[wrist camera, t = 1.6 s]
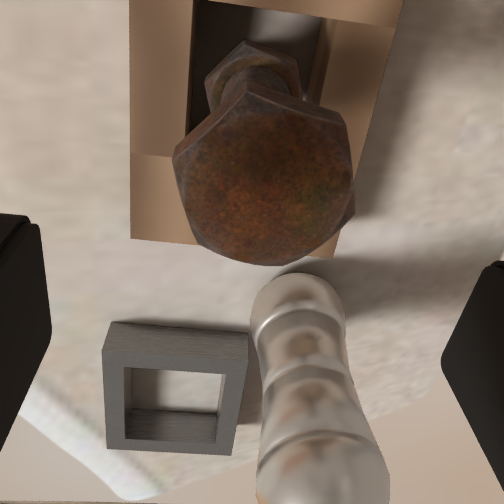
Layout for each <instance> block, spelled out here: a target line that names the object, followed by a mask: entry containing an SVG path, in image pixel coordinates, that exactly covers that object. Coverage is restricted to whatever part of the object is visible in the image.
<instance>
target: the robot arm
mask: <svg viewBox="0 0 504 504" xmlns="http://www.w3.org/2000/svg"><path fill="white" fill-rule="evenodd" d="M51 334H52V325H51V316H50V308H49V300H48V292H47V284H46V275H45V267H44V259H43V251H42V243H41V234H40V228H39V226H38V225H37V224H31V223H30V220H29V218H28V217H27V216H24V215H13V214H3V213H0V451H1V449H2V447H3V445H4V443H5V440H6V438H7V436H8V434H9V431H10V429H11V427H12V425H13V423H14V421H15V418H16V416H17V414H18V412H19V410H20V407H21V405H22V403H23V401H24V399H25V396H26V394H27V392H28V390H29V388H30V385H31V383H32V381H33V379H34V377H35V374H36V372H37V370H38V368H39V366H40V363H41V361H42V359H43V357H44V355H45V352H46V350H47V348H48V346H49V343H50V340H51ZM441 368H442V371H443V373H444V375H445V377H446V379H447V381H448V383H449V385H450V387H451V389H452V391H453V393H454V394H455V397H456V398H457V401H458V402H459V404H460V406H461V408H462V410H463V412H464V414H465V416H466V418H467V420H468V422H469V424H470V426H471V428H472V430H473V432H474V434H475V436H476V438H477V440H478V442H479V444H480V446H481V448H482V450H483V452H484V454H485V455H486V457H487V459H488V461H489V463H490V465H491V467H492V469H493V471H494V473H495V475H496V477H497V479H498V481H499V483H500V485H501V487H502V489H503V491H504V261H499V260H498V261H495V262H494V263H492V264H491V266H488V267H486V268H485V269H484V270H483V271H482V273H481V275H480V277H479V279H478V281H477V283H476V285H475V287H474V289H473V291H472V294H471V296H470V298H469V300H468V302H467V304H466V306H465V308H464V310H463V312H462V314H461V316H460V318H459V320H458V323H457V325H456V327H455V329H454V331H453V333H452V335H451V337H450V339H449V341H448V343H447V345H446V347H445V349H444V351H443V354H442V356H441ZM0 504H155V503H118V502H117V503H116V502H115V503H114V502H73V501H71V502H70V501H0Z"/></svg>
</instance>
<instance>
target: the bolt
mask: <svg viewBox="0 0 504 504" xmlns="http://www.w3.org/2000/svg"><path fill="white" fill-rule="evenodd" d="M204 84H205V89H206V94H207V99H208V103H209V107H210V112H211V114H210V115H209V116H208V117H207V118H205V119H204V120H203V121H202V122H201V123H200V124H199V125H198V126H197V127H196V128H195V129H194V130H192V131H191V132H190V133H189V134H188V135H187V136H186V137H185V138H184V139H183V140H182V141H181V142H179V143H178V144H177V145H176V146H175V150H174V153H173V157H172V164H173V169H174V174H175V178H176V183H177V187H178V191H179V195H180V198H181V202H182V205H183V207H184V210H185V213H186V216H187V219H188V222H189V225H190V228H191V231H192V233H193V235H194V237H195V239H196V241H197V243H198V244H199V245H201V246H203V247H205V248H207V249H209V250H211V251H213V252H215V253H217V254H220V255H222V256H225V257H227V258H230V259H233V260H237V261H240V262H245V263H249V264H254V265H262V266H284V265H286V264H289V263H291V262H294V261H297V260H299V259H301V258H303V257H304V256H306V255H308V254H310V253H311V252H313V251H314V250H316V249H317V248H319V247H320V246H322V245H323V244H324V243H326V242H327V241H328V240H330V239H331V238H332V237H333V236H334V235H335V234H336V233H337V232H338V231H339V230H340V229H341V228H342V227H343V226H344V225H345V224H346V223H347V222H348V221H349V220H350V219H351V217H352V216H353V215H354V212H355V195H354V181H353V167H352V158H351V150H350V144H349V138H348V132H347V126H346V123H345V121H344V120H343V118H342V116H341V115H340V113H339V112H336V111H333V110H330V109H327V108H324V107H322V106H319V105H316V104H313V103H310V102H307V101H304V100H303V98H302V91H301V84H300V77H299V71H298V66H297V62H296V60H295V58H293V57H291V56H289V55H286V54H284V53H282V52H279V51H276V50H274V49H271V48H268V47H265V46H262V45H259V44H256V43H253V42H249V41H246V40H244V41H243V42H241V43H240V44H239V45H238V46H237V47H236V48H234V49H233V50H232V51H231V52H230V53H229V54H228V55H227V56H226V57H225V58H224V59H223V60H222V61H221V62H220V63H219V64H218V65H217V66H216V67H215V68H214V69H213V70H212V71H211V72H210V73H209V74H208V75H207V76H206V77H205V82H204Z"/></svg>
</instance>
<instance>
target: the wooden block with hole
mask: <svg viewBox="0 0 504 504" xmlns="http://www.w3.org/2000/svg"><path fill="white" fill-rule="evenodd" d="M210 1H217V2H223V3H230V4H237V5H243V6H250V7H257V8H264V9H270V10H277V11H284V12H290V13H297V14H304V15H310V16H317V17H322V20H321V25H320V31H319V36H318V41H317V46H316V51H315V56H314V61H313V66H312V72H311V77H310V82H309V87H308V92H307V97H306V101H307V102H310V103H313V104H316V105H319V106H322V107H324V108H327V109H330V110H333V111H336V112H339V113H340V115H341V116H342V118H343V120H344V121H345V123H346V126H347V132H348V138H349V144H350V150H351V158H352V167H353V181H354V179H355V176H356V172H357V168H358V165H359V161H360V157H361V154H362V150H363V147H364V143H365V139H366V136H367V132H368V128H369V125H370V121H371V117H372V114H373V110H374V107H375V103H376V99H377V96H378V92H379V88H380V85H381V81H382V78H383V74H384V70H385V67H386V63H387V59H388V56H389V52H390V48H391V45H392V41H393V38H394V34H395V30H396V27H397V23H398V19H399V16H400V12H401V9H402V5H403V1H404V0H210ZM197 14H198V0H129V43H130V223H131V239H140V240H150V241H161V242H171V243H181V244H191V245H199V244H198V243H197V241H196V239H195V237H194V235H193V233H192V231H191V228H190V225H189V222H188V219H187V216H186V213H185V210H184V207H183V205H182V202H181V198H180V195H179V191H178V187H177V183H176V178H175V174H174V169H173V164H172V157H173V153H174V150H175V146H176V145H177V144H178V143H179V142H181V141H182V140H183V139H184V138H185V137H186V136H187V135H188V134H189V133H190V121H191V106H192V91H193V75H194V60H195V45H196V29H197ZM340 230H341V229H340ZM340 230H339V231H338V232H337V233H336V234H335V235H334V236H333V237H332V238H331V239H330V240H328V241H327V242H326V243H324V244H323V245H322V246H320V247H319V248H317V249H316V250H314V251H313V252H311V253H310V254H308V255H306V256H313V257H324V258H333V255H334V252H335V248H336V245H337V241H338V237H339V234H340Z"/></svg>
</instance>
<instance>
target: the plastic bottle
mask: <svg viewBox="0 0 504 504" xmlns="http://www.w3.org/2000/svg"><path fill="white" fill-rule="evenodd" d="M250 328H251V333H252V338H253V342H254V345H255V348H256V351H257V354H258V360H259V367H260V373H261V380H262V386H263V392H262V400H263V401H262V429H261V438H260V447H259V455H258V465H257V473H256V498H257V501H258V503H259V504H389V500H390V477H389V476H390V475H389V472H388V469H387V466H386V464H385V461H384V458H383V456H382V453H381V451H380V449H379V447H378V445H377V442H376V440H375V438H374V435H373V433H372V431H371V429H370V426H369V424H368V422H367V420H366V417H365V415H364V413H363V410H362V407H361V404H360V401H359V398H358V395H357V392H356V389H355V387H354V382H353V379H352V376H351V373H350V369H349V363H348V356H347V349H346V342H345V335H346V325H345V314H344V307H343V304H342V302H341V300H340V298H339V296H338V295H337V293H336V291H335V290H334V288H333V287H332V286H331V285H330V284H329V283H328V282H327V281H326V280H324V279H322V278H320V277H318V276H314V275H311V274H308V273H289V274H285V275H282V276H279V277H277V278H276V279H274V280H272V281H271V282H269V283H268V284H267V285H266V286H264V287H263V288H262V289H261V291H260V292H259V293H258V294H257V296H256V298H255V300H254V303H253V307H252V312H251V317H250Z"/></svg>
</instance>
